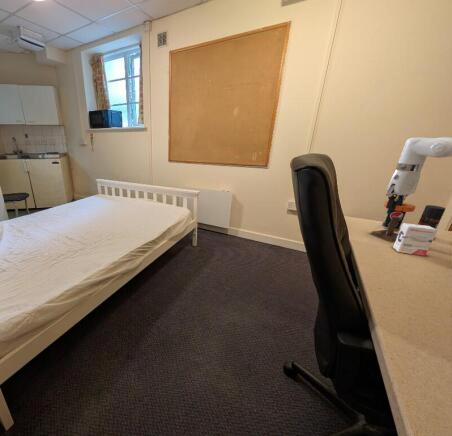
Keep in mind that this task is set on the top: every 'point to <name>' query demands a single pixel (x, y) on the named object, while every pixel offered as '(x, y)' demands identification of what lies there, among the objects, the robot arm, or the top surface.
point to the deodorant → (431, 216)
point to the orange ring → (404, 207)
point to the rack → (388, 231)
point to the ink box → (414, 239)
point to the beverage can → (389, 217)
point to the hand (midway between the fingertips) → (392, 208)
